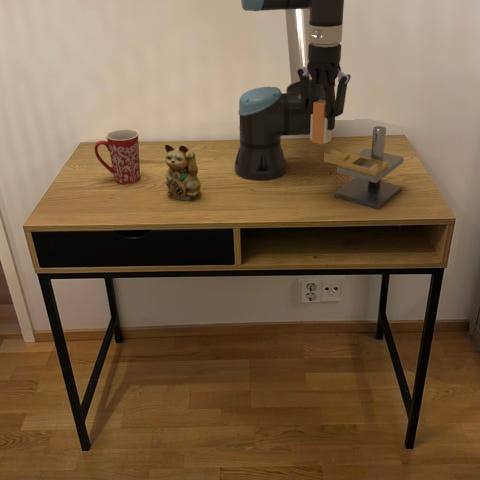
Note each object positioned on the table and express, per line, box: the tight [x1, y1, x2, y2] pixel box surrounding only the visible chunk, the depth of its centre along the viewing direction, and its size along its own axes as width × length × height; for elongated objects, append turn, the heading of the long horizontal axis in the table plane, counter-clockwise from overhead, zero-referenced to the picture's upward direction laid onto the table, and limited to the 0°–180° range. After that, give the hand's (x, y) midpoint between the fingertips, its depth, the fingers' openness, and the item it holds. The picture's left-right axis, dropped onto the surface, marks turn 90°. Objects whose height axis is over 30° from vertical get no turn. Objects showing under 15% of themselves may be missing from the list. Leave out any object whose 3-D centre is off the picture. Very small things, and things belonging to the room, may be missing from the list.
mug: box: [94, 128, 141, 185], centre depth 166 cm, size 13×9×14 cm
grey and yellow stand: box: [323, 125, 405, 210], centre depth 154 cm, size 18×16×17 cm
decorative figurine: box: [164, 143, 201, 201], centre depth 156 cm, size 10×8×15 cm
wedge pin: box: [311, 100, 327, 145], centre depth 144 cm, size 3×3×10 cm
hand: (320, 139), depth 147 cm, fingers closed on wedge pin, 3 cm apart
